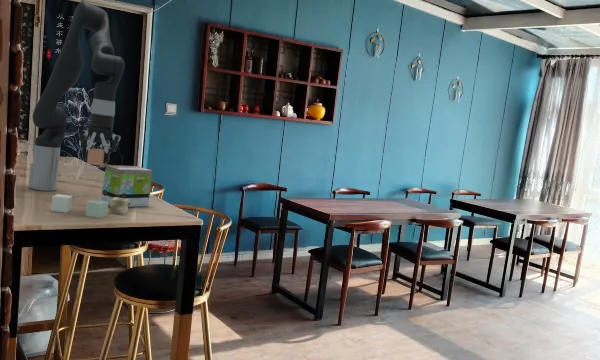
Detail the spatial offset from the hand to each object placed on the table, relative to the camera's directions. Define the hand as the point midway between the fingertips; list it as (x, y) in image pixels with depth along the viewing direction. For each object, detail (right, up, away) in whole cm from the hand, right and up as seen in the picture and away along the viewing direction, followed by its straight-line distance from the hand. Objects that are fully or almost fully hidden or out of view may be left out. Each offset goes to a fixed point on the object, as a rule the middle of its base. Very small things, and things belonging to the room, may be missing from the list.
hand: (97, 162), depth 179 cm
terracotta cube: (0, -1, 0) cm, 1 cm away
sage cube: (+1, -18, -4) cm, 19 cm away
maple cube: (+5, -18, +6) cm, 20 cm away
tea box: (+3, -16, +21) cm, 26 cm away
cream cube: (-11, -17, -4) cm, 20 cm away
